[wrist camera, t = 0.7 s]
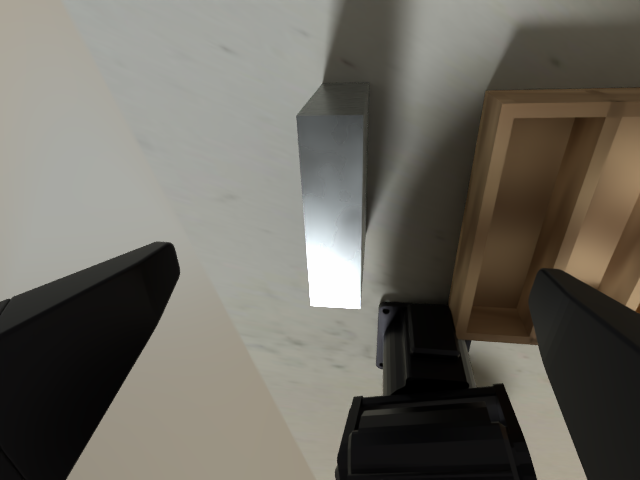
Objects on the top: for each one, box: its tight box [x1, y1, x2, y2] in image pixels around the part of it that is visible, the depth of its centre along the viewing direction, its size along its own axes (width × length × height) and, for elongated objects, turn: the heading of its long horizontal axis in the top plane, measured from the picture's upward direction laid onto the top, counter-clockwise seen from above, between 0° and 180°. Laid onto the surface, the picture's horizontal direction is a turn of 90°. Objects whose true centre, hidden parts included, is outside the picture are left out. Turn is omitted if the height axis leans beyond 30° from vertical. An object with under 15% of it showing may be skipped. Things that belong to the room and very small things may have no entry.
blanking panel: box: [296, 82, 369, 309], centre depth 18 cm, size 9×2×7 cm, turn 3°
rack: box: [448, 87, 640, 345], centre depth 20 cm, size 14×13×3 cm
